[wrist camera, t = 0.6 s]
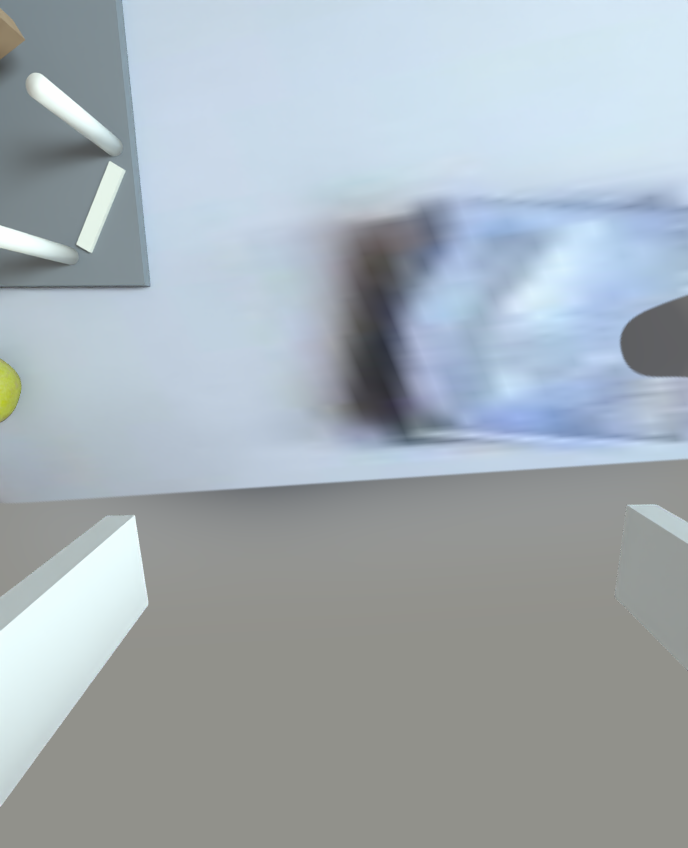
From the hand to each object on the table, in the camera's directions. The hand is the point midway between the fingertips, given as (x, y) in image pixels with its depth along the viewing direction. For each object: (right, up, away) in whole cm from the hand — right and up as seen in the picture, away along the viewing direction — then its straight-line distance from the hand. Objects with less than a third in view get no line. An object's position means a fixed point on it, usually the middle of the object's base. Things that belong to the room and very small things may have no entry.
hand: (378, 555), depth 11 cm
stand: (-28, +26, +22) cm, 44 cm away
